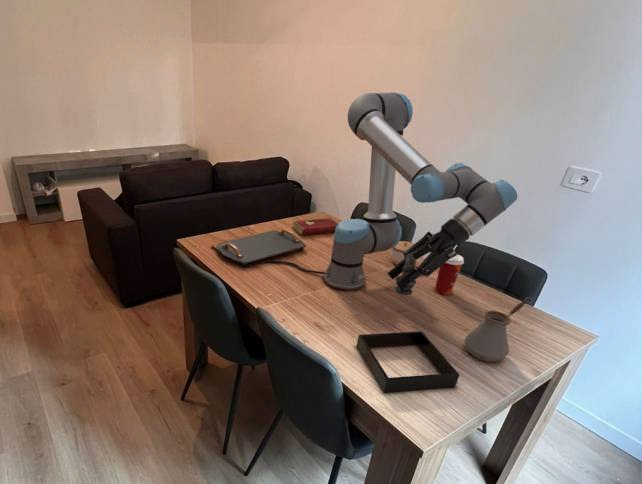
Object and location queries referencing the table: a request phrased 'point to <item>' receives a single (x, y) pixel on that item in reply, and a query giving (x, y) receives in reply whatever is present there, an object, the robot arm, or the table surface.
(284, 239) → the serving tray
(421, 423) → the table surface
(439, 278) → the paper cup
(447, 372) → the black square frame
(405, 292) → the chess piece
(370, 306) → the table surface
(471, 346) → the coffee pot
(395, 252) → the trinket box
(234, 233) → the table surface
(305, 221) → the hardcover book
